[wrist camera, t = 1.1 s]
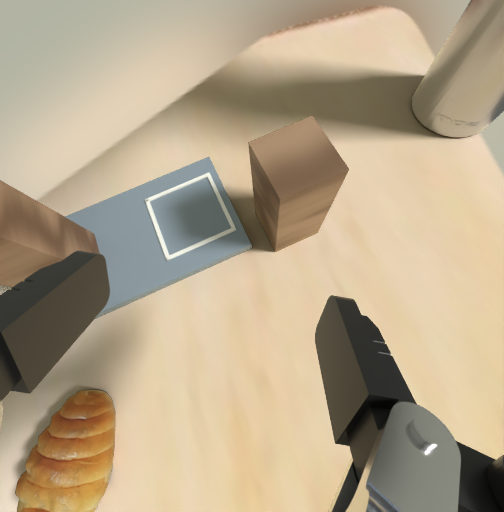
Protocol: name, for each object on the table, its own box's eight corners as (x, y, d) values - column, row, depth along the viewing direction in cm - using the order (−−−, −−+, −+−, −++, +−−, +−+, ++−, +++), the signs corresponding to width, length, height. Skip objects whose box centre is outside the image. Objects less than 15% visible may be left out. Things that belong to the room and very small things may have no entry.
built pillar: (49, 252, 27) (-92, 201, 16) (94, 233, 27) (-16, 171, 17) (58, 295, 25) (-91, 268, 15) (105, 274, 26) (-8, 234, 15)
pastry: (69, 382, 24) (34, 390, 21) (135, 393, 24) (111, 404, 20) (32, 500, 22) (-16, 534, 18) (105, 516, 21) (71, 555, 17)
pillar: (255, 213, 28) (248, 142, 17) (295, 196, 28) (312, 115, 18) (275, 252, 26) (280, 199, 16) (317, 232, 27) (349, 169, 16)
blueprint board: (35, 237, 29) (24, 232, 27) (211, 163, 30) (208, 155, 29) (54, 337, 25) (42, 337, 24) (252, 248, 27) (251, 243, 25)
